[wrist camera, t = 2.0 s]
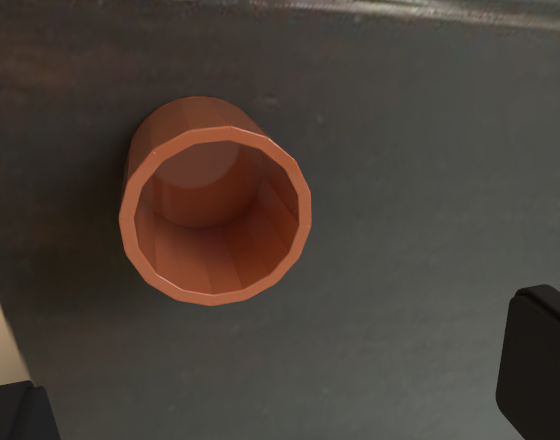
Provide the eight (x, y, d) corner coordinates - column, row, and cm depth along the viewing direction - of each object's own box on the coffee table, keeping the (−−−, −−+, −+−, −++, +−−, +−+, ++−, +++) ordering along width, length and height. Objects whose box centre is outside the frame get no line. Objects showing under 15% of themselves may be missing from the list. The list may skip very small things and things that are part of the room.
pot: (139, 241, 25) (137, 320, 18) (114, 103, 22) (102, 139, 16) (273, 222, 26) (314, 288, 20) (264, 89, 23) (308, 117, 17)
